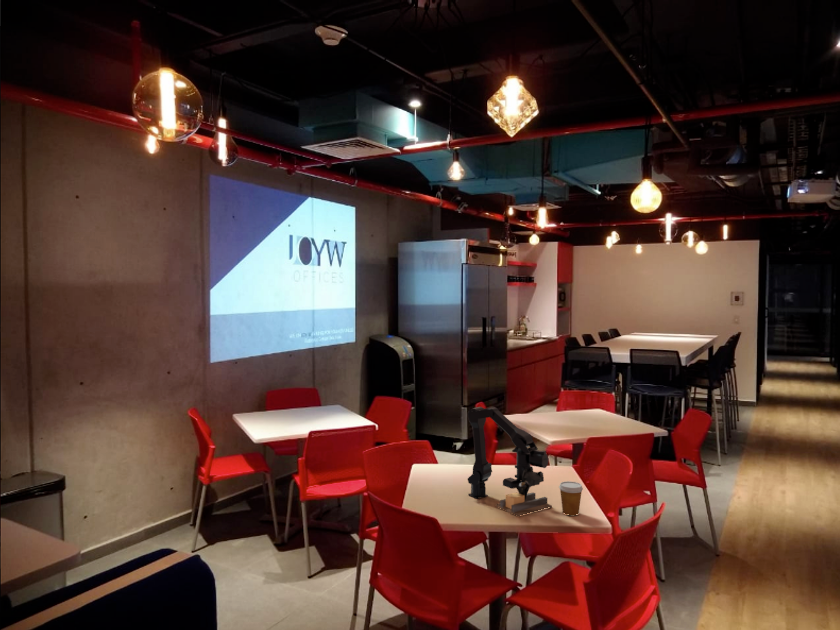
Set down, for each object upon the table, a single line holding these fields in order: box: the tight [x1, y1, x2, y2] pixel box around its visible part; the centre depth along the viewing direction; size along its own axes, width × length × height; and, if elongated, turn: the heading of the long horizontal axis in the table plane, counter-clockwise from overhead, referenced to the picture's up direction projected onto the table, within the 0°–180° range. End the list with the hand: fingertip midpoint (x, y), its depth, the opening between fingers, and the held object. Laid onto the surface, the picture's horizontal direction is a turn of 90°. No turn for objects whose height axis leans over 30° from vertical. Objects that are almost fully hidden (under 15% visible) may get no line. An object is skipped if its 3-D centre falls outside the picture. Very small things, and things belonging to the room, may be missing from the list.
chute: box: [495, 492, 553, 517], centre depth 248 cm, size 14×19×4 cm
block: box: [505, 491, 524, 509], centre depth 246 cm, size 5×6×5 cm
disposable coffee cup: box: [558, 480, 584, 515], centre depth 241 cm, size 10×10×12 cm
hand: (523, 500), depth 248 cm, fingers closed
